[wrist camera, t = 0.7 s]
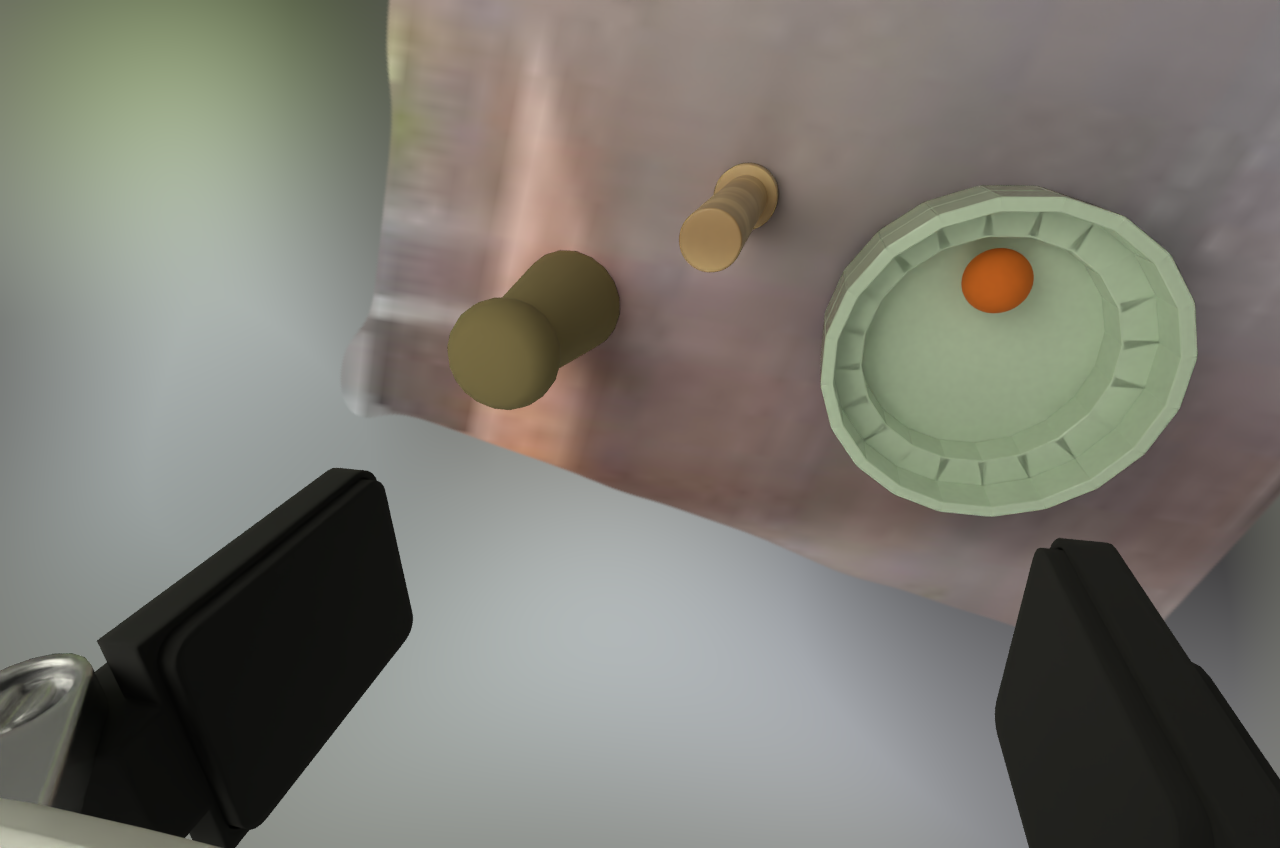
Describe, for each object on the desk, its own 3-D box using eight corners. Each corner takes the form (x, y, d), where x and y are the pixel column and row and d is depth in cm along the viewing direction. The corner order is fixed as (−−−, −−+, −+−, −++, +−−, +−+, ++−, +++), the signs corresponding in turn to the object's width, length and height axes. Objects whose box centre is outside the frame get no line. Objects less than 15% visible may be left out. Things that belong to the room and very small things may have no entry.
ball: (962, 241, 33) (974, 254, 30) (1030, 243, 32) (1048, 255, 29) (951, 302, 34) (962, 319, 31) (1016, 305, 33) (1033, 322, 31)
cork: (503, 276, 40) (401, 331, 30) (589, 232, 37) (508, 277, 28) (552, 366, 41) (470, 445, 32) (637, 329, 39) (577, 403, 29)
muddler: (716, 162, 34) (664, 191, 23) (780, 162, 34) (759, 192, 22) (714, 227, 36) (665, 285, 24) (776, 228, 35) (754, 288, 24)
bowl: (836, 183, 33) (839, 195, 29) (1190, 184, 30) (1254, 197, 26) (810, 455, 40) (809, 498, 35) (1099, 481, 36) (1137, 532, 32)
